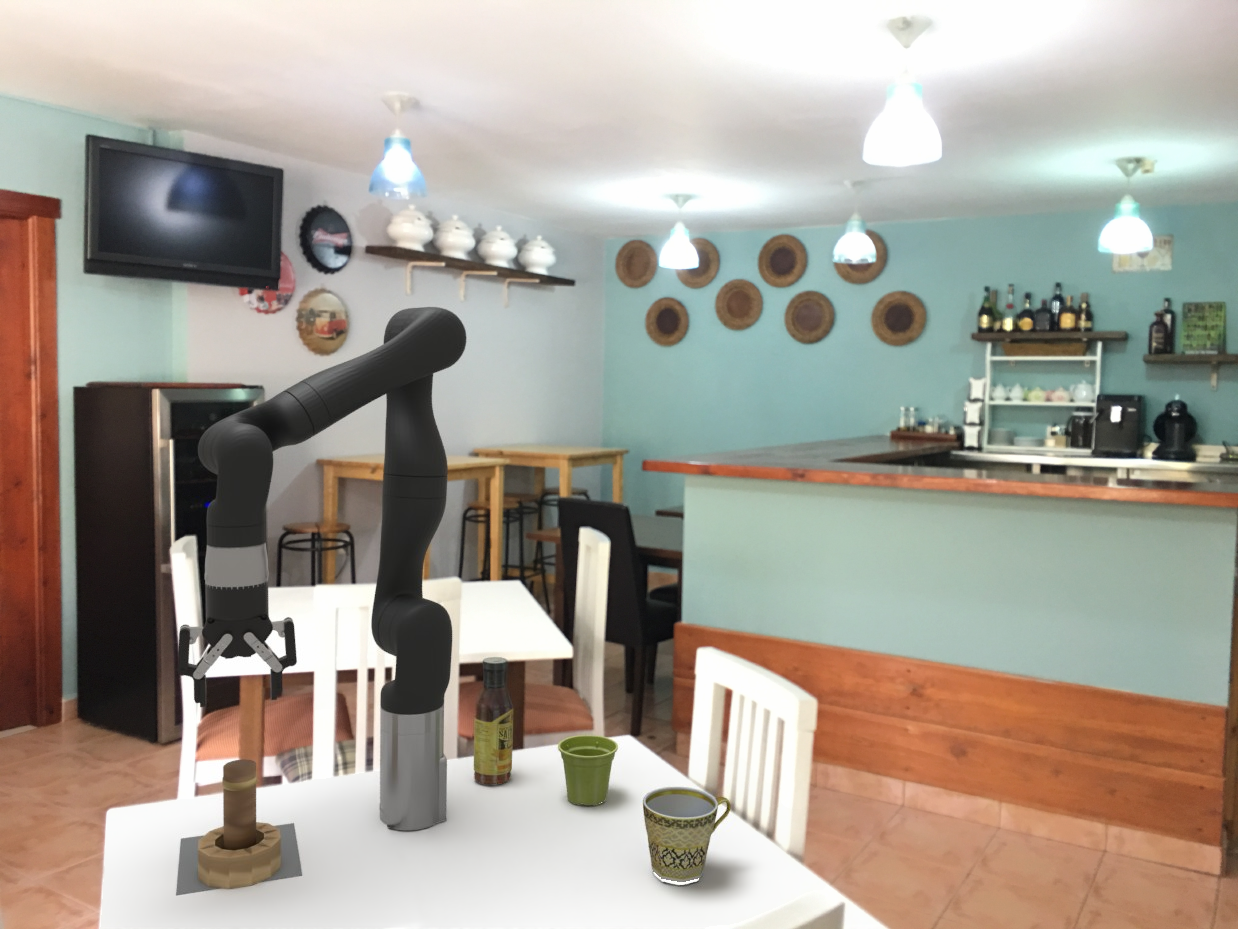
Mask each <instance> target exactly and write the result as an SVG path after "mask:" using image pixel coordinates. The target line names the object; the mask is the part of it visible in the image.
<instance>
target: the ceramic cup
mask: <svg viewBox="0 0 1238 929" xmlns="http://www.w3.org/2000/svg"><path fill="white" fill-rule="evenodd" d="M723 803H726V809H725V811H724V812H723V813H722V815H721V816H720V817H719V818H718V819H717V814H718V808H719V806H720V805H721V804H723ZM642 808H643V817H644V826H645V830H646V834H647V843H648V850H649V857H650V864H651V870H653V871H652V873H653V872H655V873H656V874H657V875H658V876H659V877H661V879H666V880H671V881H677V882H686V881H690V880H694V879H698V878H700V877H701V878H702V876H701V875H703V874H702V873H704V871H705V865H706V859H707V854H708V850H709V847H710V846H709V845H710V842H711V838H712V834H713V833H714V832H715V831H716V829H717V828H718V826H719V825H720V824H721V823H722V822H723V821H724V820H725V819H726V818H727V817H728V816H729V814H730V812H731V803H730V800H729V799H728V798H726V797H725V796H724V797H723V796H718V797H714V796H713V795H712V794H710V793H708V792H706V791H704V790H700V789H697V788H695V787H694V788H693V787H684V786H666V787H665V786H664V787H660V788H655V789H653V790H651V791H649V792H647V793H646V795H645V796H644V797H643V799H642ZM703 870H704V871H703ZM701 878H700V879H701Z"/></svg>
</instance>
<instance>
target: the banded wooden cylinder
mask: <svg viewBox="0 0 1238 929" xmlns="http://www.w3.org/2000/svg"><path fill="white" fill-rule="evenodd" d="M222 772H223V773H222V786H221V787H222V788H223V791H222V792H223V794H222V795H223V796H222V798H223V803H222V804H223V814H222V815H223V817H222V819H223V826H224V850H240V849H247V848H249V847H252V846H255V845H256V822H257V784H258V774H257V762H256V761H254V760H252V759H246V758H245V759H235V760H231V761H229V762H226V763H225V764H224V765H223V767H222Z"/></svg>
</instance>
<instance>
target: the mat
mask: <svg viewBox="0 0 1238 929" xmlns="http://www.w3.org/2000/svg"><path fill="white" fill-rule="evenodd" d="M273 826H274V827H276V828H278V829H280V837H281V867H280V868H279V869H278V870H277V871H276V872H275V873H274V874H273V875H272V876H271V877H270V878H268V879H265V880H263V881H261V882H258V883H264V882H271V881H277V880H278V881H279V880H285V879H291V878H297V877H302V876H303V870H302V865H301V864H302V863H301V859H300V853H299V852H300V851H299V847H298V846H299V845H298V841H297V839H298V838H297V834H296V828H295V823H294V822H293V823H292V822H291V823H284V824H277V825H273ZM204 835H205V834H204ZM204 835H198V836H197V835H196V836H190V837H183V838H182V837H181V838H180V844H179V858H178V867H177V869H178V870H177V879H176V888H175V889H176V891H175V892H176V893H175V896H181V895H187V894H188V895H189V894H195V893H201V892H207V891H213V890H219V889H222V888H217V887H209V886H208V885H206V884H204V883H203V882H201V881H200V880H198V840H200V839H201V838H202V837H203V836H204Z"/></svg>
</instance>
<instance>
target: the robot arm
mask: <svg viewBox="0 0 1238 929" xmlns="http://www.w3.org/2000/svg"><path fill="white" fill-rule="evenodd" d="M466 345H467V331H466V328H465V325H464V323H463V321H462V320H461V319H460V318H459V317H458V315H457V314H455V313H454V312H453V311H451V310H448V309H447V308H442V307H437V306H424V307H411V308H410V307H409V308H404V309H401V310H399V311H396V313H394V315H392V316H391V318H389V321H388V322H387V324H386V326H385V329H384V336H383V344H382V345H380V346H378V347H376V348H374V349H372V350H370V351H368V352H366V353H364V354H362V355H359V356H357V357H354V358H352V359H351V358H350V359H349V360H346V361H344V362H341V363H339V364H336V365H334V366H331V367H329V368H326V369H324V370H323V369H322V370H321V371H317V373H316V372H315V373H314V374H312V375H309V376H308V377H306V378H303V379H302V380H300V381H299V382H297V383H295V384H293V385H292V386H290V387H288V388H286V389H284V390H283V391H280V392H279V393H277V394H276V395H274V396H273V397H272V398H270V399H268V400H265V401H264V402H261V403H257V404H255V405H252V406H250V407H247V408H245V409H243V410H239V411H238V412H236V413H234V414H231V415H229V416H227V417H224V418H223V419H220V420H219V421H217V422H215V423H214V424H212V425H211V426H210V427H208V428H207V429H206V430H205V431H204V432H203V434H202V435H201V437H200V439H199V441H198V444H197V454H198V458H199V461H200V462H201V464H202V465H203V467H205V468H206V469H207V470H208V471H209V472H211V473H213V474H214V475H217V482H216V491H215V492H216V494H215V499H213V500H212V501H211V502H210V503H209V504H208V506H207V510H206V552H205V560H204V580H205V582H204V583H205V584H204V585H205V589H204V591H205V623H204V624H203V626H190V625H189V624H183V625H181V626H180V628H179V633H178V635H179V636H178V650H177V651H178V654H177V674H178V676H181V677H184V676H186V677H190V678H192V680H193V700H194V702H195V704H199V707H200V708H206V707H207V681H206V680H207V679H206V678H207V675H206V673H207V672H208V670H209V669H210V668H211V667H212V666H213V665H214V664H215V663H216V661H217V660H218V659H219V657H221V658H225V660H228V659H233V658H237V657H241V658H251V657H252V656H254V655H256V654H257V656H259V657H260V658H261V659H262V661H264V662H265V663H266V664H267V666H269V669H270V670H269V671H270V673H269V674H270V678H269V679H270V701H275V700H276V701H277V700H278V696H281V695H282V693H283V672H284V670H286V669H287V668H289V667H294V666H295V665H297V663H298V660H297V647H296V645H297V644H296V632H295V623H294V620H293V618H291V617H289V616H287V617H285V618H284V619H283V620H276V621H272V620H271V619H270V616H269V615H270V614H269V612H270V611H269V575H270V571H269V558H268V552H267V544H266V540H267V536H266V505H267V502H268V500H269V494H270V490H271V483H272V478H273V472H274V471H273V470H274V452H275V451H277V450H279V449H281V448H283V447H289V446H295V445H296V446H297V445H298V444H302V443H303V442H306V441H308V440H309V439H311V438H313V437H315V436H317V435H318V434H320V433H322V432H323V431H324V430H326V429H329V428H330V427H331V426H332V425H335V424H337V423H338V422H339V421H341V420H342V419H345V418H346V417H347V416H349V415H351V414H352V413H354V412H356V411H358V410H359V409H361V408H362V407H364V406H366V405H368V404H370V403H372V402H373V401H375V400H377V399H379V398H381V397H383V396H385V395H386V396H385V397H386V411H385V412H386V413H385V414H386V415H385V430H384V431H385V434H384V435H385V436H384V438H385V439H384V458H383V459H384V461H383V471H382V489H381V490H382V493H381V496H382V500H381V502H382V503H381V504H382V506H381V508H382V510H381V511H382V512H381V525H380V526H381V527H380V528H381V529H380V543H379V544H380V545H379V546H380V548H379V563H378V573H377V579H376V583H375V584H376V586H375V591H374V597H373V605H372V611H371V622H370V623H371V634H372V637H373V640H374V642H375V644H376V645H377V646H378V647H379V649H381V650H382V651H384V652H385V653H387V654H389V655H392V656H393V657H395V672H394V679H393V680H390V681H388V682H386V683H384V684H383V685H382V688H381V690H380V698H379V699H380V704H379V706H380V709H379V710H380V714H379V715H380V716H379V718H380V719H379V722H380V724H379V727H380V728H379V729H380V730H379V737H380V738H379V740H380V741H379V820H380V821H381V822H382V823H383V824H384V825H386V827H387V828H389V829H393V830H398V831H415V830H422V829H426V828H429V827H431V826H434V825H435V824H438V823H440V822H445V821H447V791H448V790H447V787H448V786H447V785H448V784H447V782H448V781H447V780H448V778H447V777H448V776H447V775H448V758H447V757H446V755H445V753H444V752H445V751H444V747H445V744H444V742H445V739H444V738H445V737H444V735H445V732H444V731H445V694H446V692H447V689H448V687H449V684H450V679H451V673H452V672H451V669H452V654H453V652H452V651H453V625H452V620H451V617H450V614H449V612H448V610H447V609H446V608H445V607H444V605H442V604H440V603H439V602H436V601H434V600H430V599H427V598H424V595H423V578H424V577H423V575H424V573H423V572H424V565H425V559H426V555H427V551H428V549H429V548H430V545H431V542H432V540H433V539H434V537H435V534H436V532H437V530H438V528H439V526H440V524H441V522H442V519H443V517H444V514H445V510H446V505H447V496H448V495H447V492H448V472H449V471H448V459H447V458H448V457H447V454H446V451H445V450H446V449H445V446H444V443H443V440H442V439H443V438H442V437H441V434H440V431H439V428H438V425H437V422H436V419H435V415H434V408H433V383H434V382H433V380H434V374H435V373H439V372H442V371H443V370H446V369H449V368H451V367H452V366H454V365H455V364H456V363H457V362H458V361H459V360H460V359H461V358H462V355H463V354H464V352H465V349H466ZM273 631H276V632H277V634H278V637H279V638H284V649H285V650H284V651H285V655H283V656H281V657H279V656H278V655H277V654H276V653H275V652H274V650H273V649H272V648H271V646H269V644H268V643H267V642H266V641H267V640H268V638H269V636H271V635H272V632H273ZM200 636H202V637H203V639H204V640H205V642H207V644H208V645H209V647H208V648H207V649H206V651H204V654H203V655H202V657H200V659H199V660H198V662H197V663H196V664H194V663H191V662H190V645H194V644H196V643H197V639H198V638H199V637H200Z"/></svg>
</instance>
